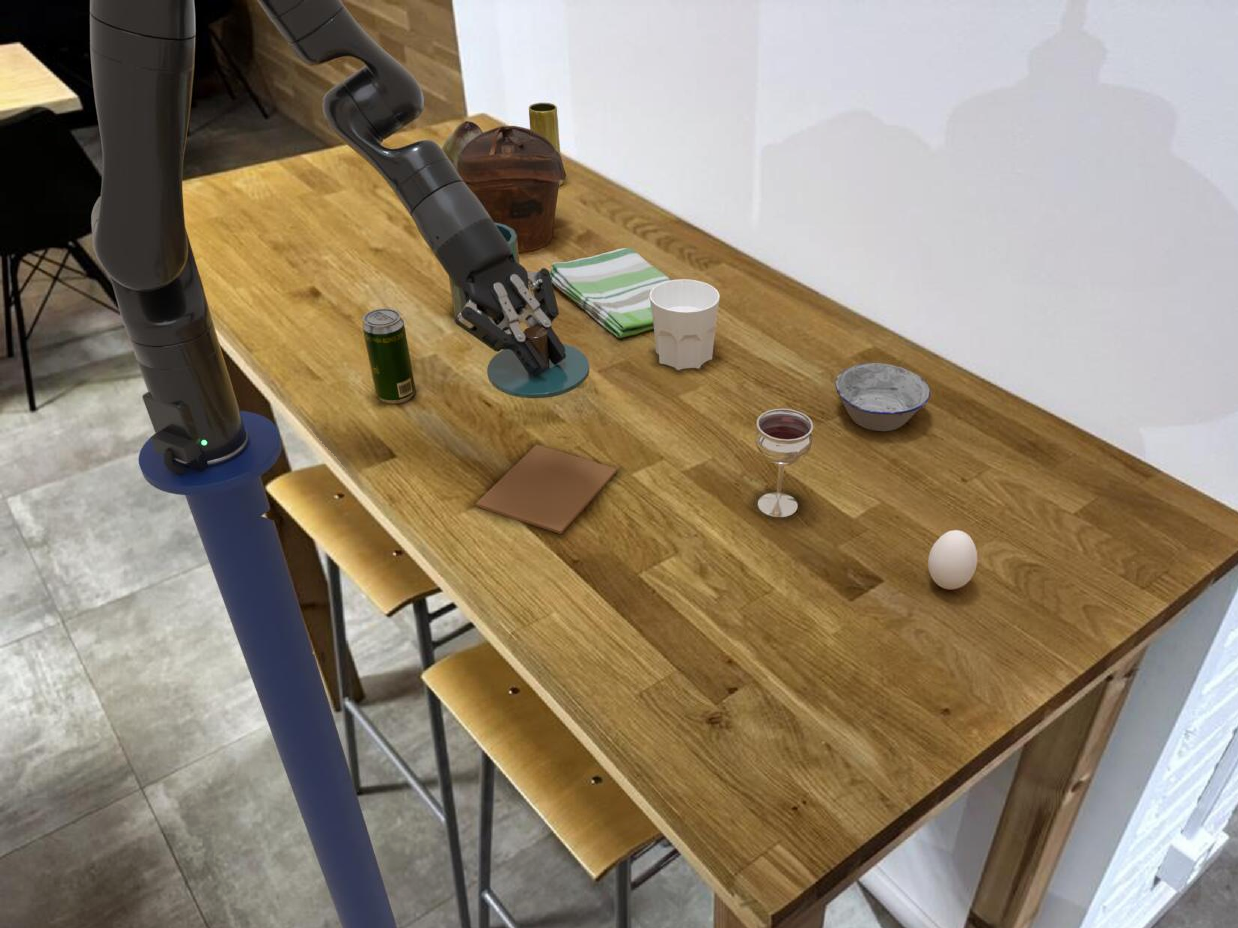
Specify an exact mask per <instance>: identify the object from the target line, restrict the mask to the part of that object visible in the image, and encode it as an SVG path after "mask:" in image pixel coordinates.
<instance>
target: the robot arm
mask: <svg viewBox="0 0 1238 928" xmlns="http://www.w3.org/2000/svg"><path fill="white" fill-rule="evenodd" d="M256 2H257V3H258V5H259V6H260V8H261V9H262V10H263V11H264V13H265V15H267V17H268V19H269V20H270V22H271V23H272V24H273V26H274V27H275V28H276V30H277V31H278V32H279V33H280V35H281V36H282V37H283V39H284V40H285V41H286V43H288V45H289V46H290V49H292V51H293V52H294V53H295V54H296V56H297V57H298V59H299V60H300V61H302V62H303V63H304V65H307V66H309V67H319V66H322V65H325V64H328V63H330V62H332V61H333V62H334V61H336V60H339V59H343V58H353V59H355V60H358V61H360V62H361V63H362V64H364V66H363V67H361V68H359V69H358V70H357V71H355V72H354V73H352V74H351V75H350V76H348V77H346V78H345V79H343V81H340V82H339V83H337V84H336V85H335V86H333V87H332V88H330V89H329V90H328V91H327V92H325V94H324V96H323V97H322V103H321V104H322V105H321V106H322V107H321V108H322V115H323V118H324V120H325V123H326V124H327V126H328V127H329V128H330V130H331V131H332V132H333V134H334V135H335V136H336V137H338V138H339V139H340V141H342V142H343V143H344V144H346V145H347V146H348V147H349V148H350V149H351V150H353V152H355V153H356V154H357V155H358V156H360V157H361V158H362V159H363V160H365V161H366V162H367V164H369V165H370V167H372V169H374V170H375V171H376V172H377V173H378V174H379V175H380V176H381V178H383V180H384V181H385V182H386V183H387V184H388V186H389V187H390V189H391V190H392V191H393V193H394V194H395V195H396V197H397V198H398V200H399V201H400V202H401V204H402V206H403V207H404V208H405V210H406V211H407V213H408V214H409V216H410V218H412V220H413V222H414V224H415V226H416V228H417V229H418V232H419V234H420V236H421V237H422V239H423V240H424V242H425V243H426V244H427V247H428V248H429V249H430V250H431V252H432V254H433V255H434V256H435V258H436V259H437V261H438V262H439V264H440V266H441V267H442V268H443V270H444V271H445V273H446V274H447V276H448V278H449V277H450V278H451V280H452V281H453V283H454V284H455V285H456V287H458V288H461V289H462V291H463V294H464V299H465V302H466V305H465V307H464V308H463V310H462V311H461V312H460V313H459V314H458V315H457V316H456V317H455V316H454V317H455V318H454V322H455V324H456V325H457V326H458V327H460V328H461V329H462V330H464V331H465V332H467V333H469V334H470V335H471V336H473V337H474V338H475V339H477V340H479V341H480V342H481V343H483V345H486V346H487V347H488V348H490V349H491V350H492V351H494V352H497V353H499V352H501V351H502V350H504V349H510V350H512V351H513V352H514V353H515V355H516V356H517V358H518V359H519V361H520V362H521V363H522V365H523V366H524V368H525V369H526V371H528V372H529V373H532V374H533V375H534V376H537V375H539V374H541V373H542V372H543V371H544V370H546V368H547V367H546V364H545V363H544V361H543V360H542V358H541V357H540V355H539V354H538V352H537V351H536V349H535V348H534V347H533V345H532V344H531V342H530V341H529V340H527V341H525V339H526V337H525V335H524V333H523V332H524V330H523V329H522V327H521V325H520V323H519V322H521V323H524V324H525V325H526V327H527V328H529V327H533V326H539V327H543V328H545V329H546V331H547V341H548V352H549V359H550V361H551V362H552V363H553V364H554V365H556V364H558V363H559V362H561V361H562V360H563V359H564V358H566V354H565V347H564V346H563V344H564V343H563V342H562V341H561V340H560V338H559V337H558V335H557V334H556V332H555V331H554V329H553V327H552V323H553V322H554V320H555V319H556V318H557V317H558V316H559V315H560V312H559V311H560V310H559V307H558V303H557V299H556V294H555V291H554V284H553V283H552V281H551V277H550V273H551V272H550V271H549V270H548V269H547V268H545V267H543V268H541V269H540V270H539V271H532V270H531V271H530V270H527V269H526V268H525V266H523V265H521V263H520V262H519V263H520V264H519V263H517V262H516V260H515V259H514V256H513V251H512V248H511V247H510V245H509V244H508V242H507V241H506V239H505V238H504V236H503V235H502V233H501V232H500V231H499V229H498V228H497V226H496V225H495V223H494V222H493V220H492V219H491V217H490V216H489V214H488V213H487V211H486V210H485V208H484V207H483V205H482V204H481V202H480V201H479V199H478V198H477V197H476V196H475V194H474V193H473V192H472V191H471V190H470V189H469V188H468V186H467V185H466V184H465V182H464V181H463V179H462V178H461V176H460V175H459V174H458V172H457V171H456V169H455V168H454V166H453V165H452V163H451V162H450V160H449V159H448V157H447V156H446V154H445V153H444V151H443V150H442V147H441V146H440V145H439V144H438V143H437V142H436V141H434V140H432V139H421V140H418V141H415V142H412V143H409V144H406V145H404V146H400V147H396V148H390V147H387V146H383V145H382V143H383V142H384V140H387V139H388V138H390V137H391V136H393V135H395V134H396V133H397V132H399V131H400V130H402V129H403V128H404V127H406V126H407V125H409V124H410V123H412V122H414V121H415V120H417V119H418V118H419V117H420V115H422V113H423V110H424V107H425V106H424V104H425V100H424V99H425V98H424V94H423V90H422V88H421V86H420V84H419V82H418V81H417V79H416V77H414V75H413V74H412V73H411V72H410V71H409V70H408V69H407V68H406V67H405V66H403V64H401V63H400V62H399V60H397V59H395V57H393V56H392V55H391V54H390V53H388V52H387V51H386V50H385V49H384V48H383V47H381V46H380V45H379V44H378V43H377V42H376V41H375V40H374V39H373V38H372V37H371V36H370V35H369V34H368V33H367V32H366V31H365V30H364V29H363V28H362V26H361V25H360V24H359V23H358V22H357V20H356V19H355V18H354V17H353V15H352V14H351V12H349V10H348V8H347V7H346V6H345V5H344V2H343V1H342V0H256ZM196 32H197V30H196V6H195V0H89V40H90V41H89V50H90V51H89V52H90V64H91V65H90V66H91V75H92V76H91V77H92V88H93V95H94V104H95V110H96V116H97V122H98V129H99V136H100V141H101V142H100V143H101V151H102V152H101V153H102V175H101V176H102V177H101V188H100V196H98V198H97V199H96V202H95V203H94V205H93V207H92V211H91V216H90V225H91V240H92V241H91V242H92V248H93V251H94V254H95V257H96V259H97V261H98V262H99V264H100V265H101V267H102V268H103V270H104V271H105V272H106V273H107V274H108V277H109V279H110V282H111V285H112V288H113V291H114V296H115V299H116V304H117V306H118V311H119V314H120V319H121V321H122V324H123V327H124V330H125V332H126V335H127V337H128V339H129V343H130V345H131V348H132V351H133V353H134V356H135V359H136V362H137V365H138V367H139V370H140V373H141V377H142V379H143V382H144V385H145V387H146V390H147V391H146V392H145V393H143V394H142V397H141V398H142V401H143V405H144V406H145V409H146V411H147V414H148V417H149V420H150V422H151V425H152V429H153V431H154V434H152V435H151V436H150V437H151V440H152V443H153V446H154V448H155V451H156V452H158V453H161V454H163V455H164V463H165V466H166V467H167V468H168V469H169V470H170V471H172V472H174V473H177V474H179V475H180V474H183V473H184V471H185V470H184V468H183V467H181V466H178V465H176V464H174V463H177V464H179V465H182V466H185V467H188V468H191V469H194V470H197V471H200V472H202V471H204V470H206V469H207V468H209V467H213V466H217V465H221V464H224V463H226V462H229V461H231V460H233V459H235V458H236V457H238V456H239V455H240V454H242V453H243V452H244V451H245V450H246V448H247V447H248V444H249V437H248V433H247V430H246V429H245V426H244V423H243V420H242V416H241V413H240V411H241V410H240V406H239V404H238V400H237V397H236V394H235V391H234V387H233V384H232V381H231V377H230V373H229V370H228V367H227V364H226V361H225V358H224V354H223V351H222V348H221V344H220V340H219V338H218V335H217V331H216V327H215V324H214V320H213V318H212V315H211V311H210V308H209V307H210V306H209V304H208V299H207V296H206V292H205V289H204V285H203V282H202V277H201V275H200V271H199V269H198V266H197V262H196V258H195V255H194V251H193V248H192V244H191V241H190V238H189V235H188V231H187V228H186V221H185V210H184V209H185V208H184V192H183V169H184V156H185V150H186V144H187V137H188V130H189V123H190V116H191V115H190V114H191V106H192V97H193V85H194V75H195V58H196V57H195V56H196V55H195V54H196V34H197V33H196ZM532 292H533V294H532ZM525 307H526V308H525ZM482 313H483V314H485V315H487V316H488V317H489V319H490V321H491V322H490V321H489V320H487V319H486V318H485V317H483V316H482ZM562 343H563V344H562ZM155 433H156V434H155Z"/></svg>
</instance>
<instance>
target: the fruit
mask: <svg viewBox="0 0 1238 928" xmlns="http://www.w3.org/2000/svg"><path fill="white" fill-rule="evenodd" d="M482 133H484V132H483V130H482V129H481V128H480V126H479V125H478V124H477V123H475V122H473V121H468V120H466V121H465V120H464V121H461V122H460V124H458V125H457V126H456V127H455V128H454V130H453V132H452V133H451V135H449V136H448V137H446V139H445V141H444V143H443V145H442V147H441V149H442V150H443V151H444V153H445V154H446V156H447V157H448V159H449V160H450V162H451V163H452V165H453V166H454V168H455V169H456V171H457V157H458V155H459V154H460V152H461V151H462V149H464V147H465V146H466V145H467V144H468V143H469V142H470V141H471V140H473V139H474V138H475V137H477V136H478V135H480V134H482Z"/></svg>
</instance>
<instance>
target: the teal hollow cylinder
mask: <svg viewBox="0 0 1238 928" xmlns="http://www.w3.org/2000/svg"><path fill="white" fill-rule="evenodd" d="M494 223H495V222H494ZM495 225H496V226H497V228H498V229H499V231H500V232H501V233H502V235H503V236H504V238H505V239H506V241H507V242H508V244H509V245H510V247H511V248H512V251H513V256H514V259H515V260H516V262H517V263H519V264H520V265H521V263H520V255H519V253H520V252H518V242H517V235H516V233H515V231H514V229H512V228H510V227H508V226H507V225H504V224H499V223H495ZM448 280H449V287H450V295H451V301H452V308H453V312H454V317H456V316H457V315H458V314H459V313H460V312H461V311H462V310H463V308H464V307H465V305H466V302H465V299H464V294H463V291H462V289H461V288H458V287H456V285H455V284H454V283H453V281H452V280H451V278H450V277H449V276H448ZM482 316H483V317H485V318H486V319H487V320H489V321H490V319H489V317H488V316H487V315H485V314H483V313H482ZM490 322H491V321H490Z"/></svg>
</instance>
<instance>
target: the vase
mask: <svg viewBox="0 0 1238 928" xmlns="http://www.w3.org/2000/svg"><path fill="white" fill-rule="evenodd" d="M528 118H529V119H528V121H529V129H530V130H533V131H535V132H537V133H539V134H541V135H542V136H544V137H545V138H546V139H547V140H548V141H549V142H550V143H551V144H552V145H553V146H554V148H555V150H556V151H557V152H558V153H559V154H560V156H561V157H562V153H561V144H560V131H559V118H558V107H557V105H556V104H554V103H551V102H536V103H532V104H530V105H529V106H528ZM559 181H560V183H559V187H560V186H561V185H563V184H564V182H565V179H564V180H561V179H560V180H559Z"/></svg>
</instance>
